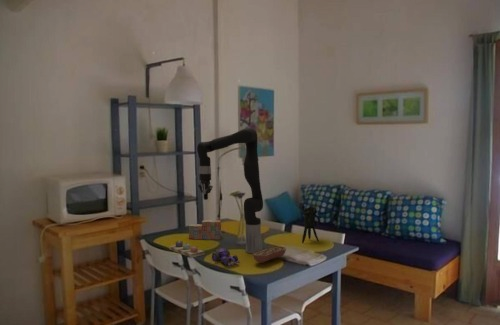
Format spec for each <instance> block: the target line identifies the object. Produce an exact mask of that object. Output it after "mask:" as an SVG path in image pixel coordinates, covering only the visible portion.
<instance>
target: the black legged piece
mask: <svg viewBox="0 0 500 325" xmlns="http://www.w3.org/2000/svg"><path fill="white" fill-rule="evenodd" d="M305 207H306V206H305V204H304V203H302V204H301V205H300V208H301V211H302V213H303V214H304V218H303V219H304V220H303V225H304V228H303V234H302V239H301V243H302V244H304V243H305V241H306V240H305V239H306V237H308V240H311V236H312V231H313V234H314V235H313V236H314V237H315V238H316V241H317V242H318V243H320V241H319V237H318V234H317V232H316V228H315V227H316V225H318V224H320V222H321V219H320V217H319V216H318V215H317V213H318V210H317V206H316V205H314V204H313V205H311V206H308V207H307V208H305ZM315 218H317V221H316V220H315ZM315 221H316V222H315ZM307 235H308V236H307Z"/></svg>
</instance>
